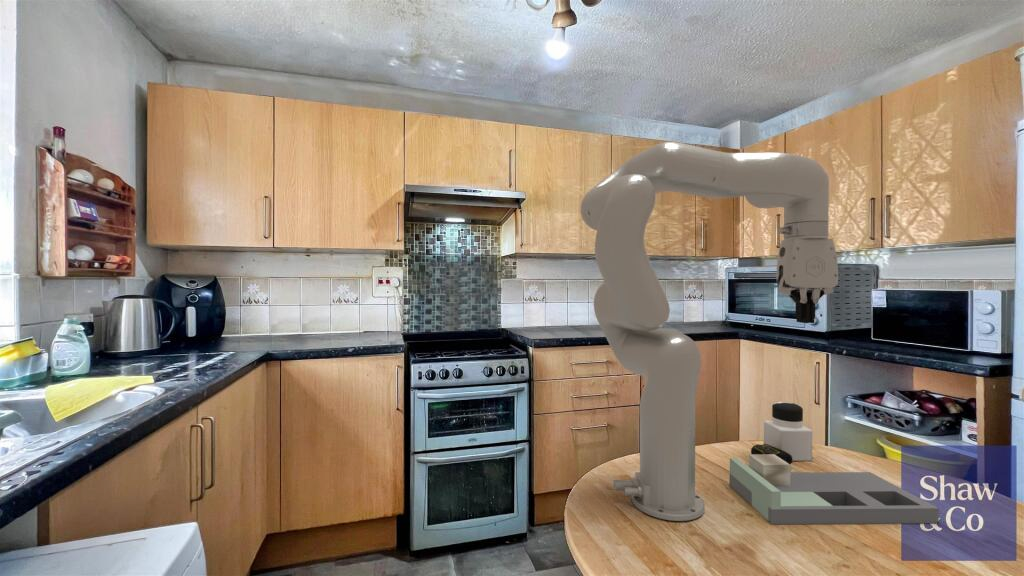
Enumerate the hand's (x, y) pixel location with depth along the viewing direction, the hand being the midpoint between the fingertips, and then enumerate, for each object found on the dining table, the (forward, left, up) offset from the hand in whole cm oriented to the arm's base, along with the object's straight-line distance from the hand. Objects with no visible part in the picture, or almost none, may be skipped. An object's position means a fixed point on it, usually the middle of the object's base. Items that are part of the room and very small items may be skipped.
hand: (805, 322), depth 90 cm
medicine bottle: (+4, +12, -32) cm, 35 cm away
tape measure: (-3, +7, -32) cm, 33 cm away
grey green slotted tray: (-3, -10, -32) cm, 34 cm away
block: (-11, -6, -30) cm, 32 cm away
